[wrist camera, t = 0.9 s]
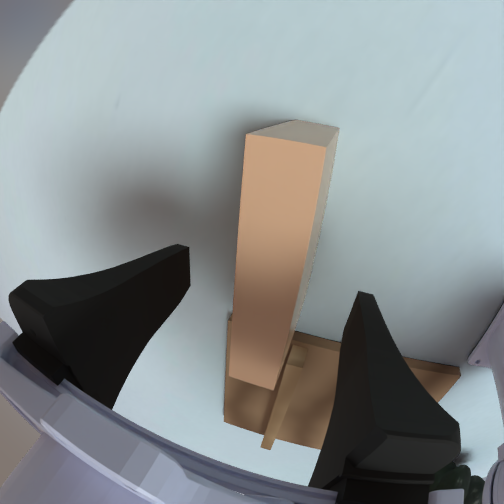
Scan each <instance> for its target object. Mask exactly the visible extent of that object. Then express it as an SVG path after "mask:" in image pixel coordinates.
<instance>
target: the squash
mask: <svg viewBox="0 0 504 504" xmlns="http://www.w3.org/2000/svg"><path fill="white" fill-rule="evenodd" d="M484 485H485V481H484V480H483V479H482V478H481V477H479V476H476V475H474V476H471V471H470V468H469V467H468V466H467V465H460V466H458V467H456V465H455V464H454V463H453V462H451V463H449V464H448V465H446V466H445V467H443V468H442V469H440V470H439V471H437V472H435V481H434V483H433V484H430V487H429V492H432V491H436V490H451V489H463V490H464V502H463V504H482V495H483V489H484Z"/></svg>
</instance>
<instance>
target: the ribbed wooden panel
mask: <svg viewBox="0 0 504 504" xmlns="http://www.w3.org/2000/svg"><path fill="white" fill-rule="evenodd" d="M232 314H233V313H232ZM231 330H232V315H231V317H230V318H229V320H228V333H227V354H226V377H225V403H224V422H226V423H229V424H232V425H235V426H237V427H240V428H243V429H246V430H249V431H253V432H256V433H259V434H262V435H264V438H263V441H262V444H261V448H264V449H268V450H271V447H272V445H273V443H274V440H275V438H276V439H279V440H283V441H287V442H290V443H294V444H298V445H302V446H307V447H311V448H315V449H320V450H321V448H322V445H323V442H324V439H325V435H326V432H327V428H328V425H329V421H330V417H331V413H332V409H333V405H334V399H335V392H336V384H337V374H338V364H339V354H340V347H341V343H339V342H335V341H331V340H327V339H324V338H320V337H316V336H312V335H308V334H304V333H301V332H297V331H294V334H293V337H292V340H291V343H290V346H289V349H288V352H287V355H286V358H285V360H284V363H283V366H282V369H281V372H280V374H279V377H278V380H277V383H276V385H275V388H274V390H270V389H267V388H264V387H261V386H257V385H254V384H251V383H248V382H245V381H242V380H239V379H236V378H233V377H230V376H229V363H230V346H231ZM403 358H404V360H405V361H406V363H407V365H408V366H409V368H410V369H411V371H412V372H413V373H414V375H415V376H416V378H417V379H418V380H419V381H420V383H421V384H422V385H423V387H424V388H425V389H426V390H427V392H428V393H429V394H430V395H431V396H432V397H433V398H434V400H435V401H436V402H437V403H438V402H439V401H440V400H441V399H442V398H443V396H444V395H445V394H446V393H447V392H448V391H449V390H450V388H451V387H452V386H453V385H454V384H455V383H456V381H457V380H458V379H459V378H460V376H461V374H460V369H459V367H455V366H449V365H443V364H437V363H432V362H427V361H421V360H416V359H411V358H406V357H403Z"/></svg>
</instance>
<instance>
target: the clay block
mask: <svg viewBox="0 0 504 504" xmlns="http://www.w3.org/2000/svg"><path fill="white" fill-rule="evenodd" d="M339 129H340V128H338V127H333V126H328V125H323V124H317V123H312V122H306V121H300V120H292V121H289V122H285V123H281V124H278V125H274V126H271V127H267V128H264V129H260V130H257V131H254V132H251V133H247V134H246V140H245V152H244V164H243V176H242V189H241V201H240V214H239V227H238V241H237V255H236V269H235V283H234V298H233V314H232V330H231V346H230V363H229V376H230V377H233V378H236V379H239V380H242V381H245V382H248V383H251V384H254V385H257V386H261V387H264V388H267V389H270V390H274V388H275V385H276V383H277V380H278V377H279V374H280V372H281V369H282V366H283V363H284V360H285V358H286V355H287V352H288V349H289V346H290V343H291V340H292V337H293V334H294V331H295V328H296V325H297V322H298V319H299V316H300V313H301V310H302V307H303V304H304V301H305V297H306V293H307V289H308V284H309V280H310V276H311V272H312V268H313V263H314V259H315V255H316V250H317V246H318V241H319V237H320V232H321V227H322V222H323V218H324V213H325V208H326V203H327V198H328V193H329V187H330V182H331V177H332V171H333V165H334V160H335V154H336V148H337V142H338V136H339Z"/></svg>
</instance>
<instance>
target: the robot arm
mask: <svg viewBox="0 0 504 504" xmlns="http://www.w3.org/2000/svg"><path fill="white" fill-rule="evenodd" d="M189 287H190V257H189V247H187V246H183V245H179V244H175V245H172V246H169V247H166V248H164V249H161V250H158V251H156V252H153V253H151V254H148V255H146V256H143V257H141V258H138V259H136V260H133V261H130V262H127V263H124V264H122V265H119V266H116V267H113V268H110V269H106V270H102V271H99V272H95V273H90V274H85V275H80V276H75V277H68V278H60V279H46V280H26V281H25V282H23V283H22V284H21V285H20V286H18V287H17V288H16V289H14V290H13V291H12V292H11V293H10V294H9V303H10V307H11V309H12V311H13V313H14V316H15V318H16V320H17V322H18V324H19V326H20V328H21V330H22V332H23V333H22V334H20V335H19V336H18V334H17V333H16V332H15V331H14V330H13V329H12V328H11V327H10V326H9V325H8V324H7V323H6V322H5V321H2V322H1V323H0V393H1V394H2V395H3V396H4V398H5V399H6V400H7V401H8V402H9V403H10V404H11V405H12V406H13V407H14V408H15V410H16V411H17V412H18V413H19V414H20V415H21V416H22V417H23V418H24V419H25V420H26V421H27V422H28V423H29V424H30V425H31V426H32V427H33V428H35V429H36V430H37V431H38V432H39V433H40V434H41V436H40V437H39V438H38V440H37V441H36V442H35V443H34V445H33V446H32V447H31V449H30V450H29V451H28V452H27V453H26V455H25V456H24V457H23V459H22V460H21V461H20V463H19V464H18V465H17V466H16V468H15V469H14V470H13V472H12V473H11V474H10V475H9V477H8V478H7V480H6V481H5V482H4V484H3V485H2V486H1V488H0V504H463V502H464V490H463V489H451V490H436V491H432V492H429V487H430V484H433V483H434V481H435V472H437V471H439V470H440V469H442V468H443V467H445V466H446V465H448V464H449V463H451V462H452V461H453V460H454V459H455V458H456V457H457V456H458V455H459V453H460V452H461V438H460V428H459V423H458V422H457V421H456V420H455V419H454V418H453V417H452V416H450V415H449V414H448V413H447V412H446V411H445V410H444V409H443V408H442V407H441V406H440V405H439V404H438V403H437V402H436V401H435V400H434V398H433V397H432V396H431V395H430V394H429V393H428V392H427V390H426V389H425V388H424V387H423V385H422V384H421V383H420V381H419V380H418V379H417V378H416V376H415V375H414V373H413V372H412V371H411V369H410V368H409V366H408V365H407V363H406V361H405V360H404V358H403V357H402V355H401V353H400V352H399V350H398V348H397V346H396V344H395V342H394V340H393V338H392V336H391V334H390V332H389V330H388V328H387V326H386V324H385V321H384V319H383V317H382V314H381V312H380V310H379V307H378V305H377V302H376V300H375V298H374V296H373V294H369V293H365V292H361V291H358V293H357V296H356V299H355V302H354V304H353V307H352V310H351V312H350V315H349V317H348V320H347V323H346V325H345V328H344V332H343V337H342V342H341V347H340V354H339V364H338V374H337V384H336V392H335V399H334V405H333V409H332V413H331V417H330V421H329V425H328V428H327V432H326V435H325V439H324V442H323V445H322V448H321V451H320V454H319V457H318V460H317V463H316V466H315V469H314V472H313V474H312V477H311V480H310V482H309V485H308V486H303V485H298V484H294V483H289V482H285V481H281V480H277V479H273V478H270V477H266V476H263V475H259V474H256V473H252V472H249V471H246V470H243V469H240V468H237V467H234V466H231V465H228V464H225V463H222V462H220V461H217V460H214V459H212V458H209V457H206V456H204V455H201V454H199V453H196V452H194V451H192V450H189V449H187V448H185V447H182V446H180V445H178V444H176V443H173V442H171V441H169V440H167V439H165V438H163V437H161V436H159V435H157V434H155V433H153V432H151V431H149V430H147V429H145V428H143V427H141V426H139V425H137V424H135V423H134V422H132V421H130V420H128V419H126V418H125V417H123V416H121V415H119V414H118V413H116V412H114V411H113V410H112V408H113V406H114V404H115V402H116V399H117V397H118V395H119V393H120V391H121V389H122V387H123V385H124V383H125V381H126V379H127V377H128V375H129V373H130V371H131V369H132V368H133V366H134V364H135V362H136V361H137V359H138V357H139V356H140V354H141V353H142V351H143V349H144V348H145V346H146V345H147V343H148V342H149V340H150V339H151V338H152V336H153V335H154V334H155V333H156V331H157V330H158V329H159V328H160V327H161V325H162V324H163V323H164V322H165V320H166V319H167V318H168V317H169V316H170V314H171V313H172V312H173V311H174V310H175V308H176V307H177V306H178V305H179V303H180V302H181V300H182V299H183V297H184V295H185V294H186V292H187V290H188V289H189ZM468 363H469V364H470V365H475V366H482V367H488V368H492V372H493V376H494V380H495V384H496V389H497V393H498V398H499V403H500V408H501V413H502V419H503V425H504V303H503V305H502V307H501V309H500V310H499V312H498V314H497V315H496V317H495V319H494V320H493V322H492V323H491V325H490V327H489V328H488V330H487V331H486V333H485V334H484V336H483V337H482V339H481V340H480V342H479V343H478V345H477V346H476V348H475V349H474V350H473V352H472V353H471V355H470V356H469V357H468ZM498 459H499V460H497V461H496V462H495V463H494V464H493V466H492V467H491V468H490V470H489V472H488V475H487V478H486V481H485V485H484V489H483V495H482V504H504V443H503V444H502V445H501V446H499V447H498ZM232 490H233V491H232ZM235 491H236V492H235ZM237 492H239V493H237ZM240 493H242V494H245V495H242V494H240Z"/></svg>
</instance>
